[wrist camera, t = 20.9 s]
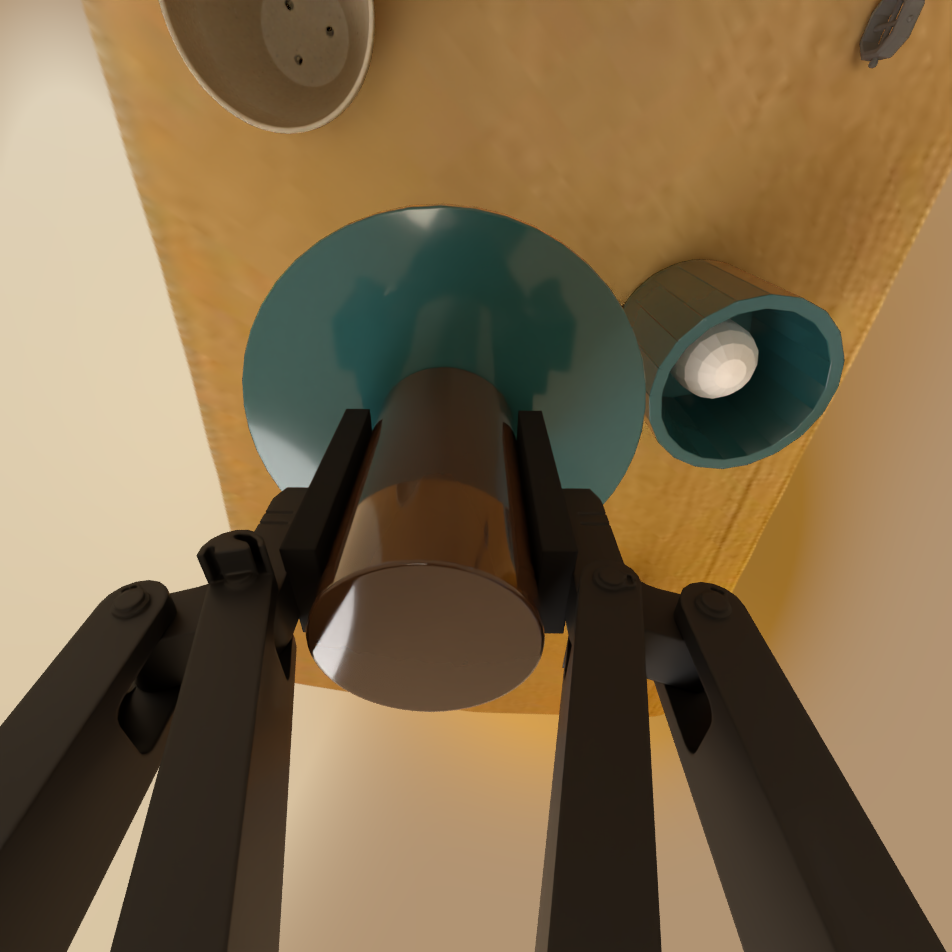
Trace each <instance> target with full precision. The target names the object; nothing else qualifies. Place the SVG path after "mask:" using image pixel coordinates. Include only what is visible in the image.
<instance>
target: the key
mask: <svg viewBox="0 0 952 952" xmlns="http://www.w3.org/2000/svg"><path fill="white" fill-rule="evenodd" d="M924 3H925V0H882V1H881V2H880V3H879V5H878V6H877V7H876V8H875V10H874V11H873V12H872V14H871V17H870V19H869V22H868V24H867V27H866V29H865V31H864V34H863V36H862V39H861V41H860V53H861V60H865V61H870V63H869V65H868V67H869V68H874V67H876V66H877V64H878V60H882V59H887V58H890V57H892V56H893V55H894V54H895V53H896V51H897V50H898V49H899V48H900V47H901V46H902V45H903V44H904V42H905V41H906V40H907V39H908V38H909V36H910V34H911V32H912V30H913V28H914V25H915V23H916V21H917V19H918V17H919V15H920V12H921V10H922V8H923V6H924ZM902 4H903V6H902ZM901 6H902V8H901ZM900 8H901V11H900ZM899 11H900V13H899ZM898 13H899V15H898ZM897 15H898V18H897V19H896V17H897ZM890 16H891V17H890ZM889 17H890V19H889ZM888 19H889V21H888ZM892 27H893V29H892ZM884 29H885V31H884ZM891 29H892V31H891ZM883 31H884V33H883ZM890 31H891V33H890ZM882 33H883V35H882ZM889 33H890V35H889ZM881 36H882V38H881ZM880 38H881V40H880ZM879 40H880V42H879ZM878 43H879V45H878Z"/></svg>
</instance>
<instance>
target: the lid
mask: <svg viewBox="0 0 952 952" xmlns="http://www.w3.org/2000/svg"><path fill="white" fill-rule="evenodd" d="M242 384H243V399H244V408H245V413H246V417H247V422H248V427H249V430H250V433H251V436H252V438H253V441H254V444H255V447H256V450H257V452H258V454H259V456H260V457H261V459H262V461H263V463H264V465H265V467H266V469H267V471H268V472H269V474H270V475H271V477H272V478H273V480H274V481H275V483H276V484H277V485H278V487H279V488H280V490H281V491H283V490H284V489H285V488H287V487H309V485H310V483H311V481H312V479H313V477H314V475H315V473H316V471H317V469H318V467H319V464H320V462H321V460H322V458H323V456H324V454H325V452H326V450H327V448H328V446H329V444H330V441H331V439H332V437H333V435H334V433H335V431H336V429H337V427H338V425H339V423H340V421H341V419H342V416H343V414H344V412H345V410H346V409H370V415H371V424H372V434H371V437H370V439H369V442H368V445H367V448H366V451H365V454H364V457H363V459H362V462H361V465H360V468H359V471H358V474H357V477H356V480H355V482H354V485H353V488H352V491H351V494H350V497H349V500H348V502H347V505H346V508H345V511H344V514H343V517H342V520H341V522H340V525H339V528H338V531H337V534H336V537H335V540H334V542H333V545H332V548H331V551H330V554H329V557H328V560H327V562H326V565H325V568H324V571H323V574H322V577H321V580H320V582H319V585H318V588H317V591H316V594H315V597H314V600H313V602H312V605H311V608H310V611H309V614H308V618H307V622H306V639H307V644H308V648H309V651H310V653H311V656H312V657H313V659H314V661H315V662H316V664H317V665H318V667H319V668H320V669H321V670H322V671H323V673H324V674H325V675H326V676H328V677H329V678H330V679H331V680H332V681H333V682H335V683H336V684H337V685H339V686H340V687H342V688H343V689H345V690H347V691H348V692H350V693H352V694H354V695H356V696H358V697H361V698H363V699H365V700H368V701H371V702H373V703H376V704H380V705H384V706H387V707H391V708H397V709H402V710H411V711H425V712H435V711H436V712H437V711H451V710H459V709H465V708H470V707H474V706H478V705H481V704H484V703H487V702H490V701H493V700H495V699H497V698H499V697H501V696H504V695H506V694H507V693H509V692H510V691H512V690H514V689H515V688H516V687H518V686H519V685H520V684H522V683H523V682H524V681H525V680H526V679H527V678H528V677H529V676H530V675H531V674H532V672H533V671H534V669H535V668H536V666H537V665H538V662H539V660H540V658H541V656H542V652H543V648H544V641H545V634H544V627H543V620H542V613H541V606H540V600H539V593H538V586H537V579H536V572H535V566H534V559H533V552H532V545H531V538H530V531H529V525H528V518H527V511H526V504H525V497H524V491H523V484H522V477H521V470H520V463H519V457H518V450H517V443H516V440H517V426H518V412H519V411H542V413H543V417H544V421H545V425H546V429H547V432H548V436H549V440H550V444H551V448H552V452H553V456H554V460H555V463H556V467H557V471H558V475H559V479H560V483H561V487H562V488H579V489H591V490H592V491H593V492H594V493H595V494H596V495H597V496H598V497H599V498H600V499H601V501H602V504H604V503H605V502H606V501H607V499H608V498H609V497H610V496H611V495H612V493H613V492H614V491H615V489H616V488H617V486H618V484H619V483H620V481H621V480H622V478H623V477H624V475H625V473H626V471H627V469H628V467H629V465H630V463H631V461H632V459H633V456H634V454H635V451H636V448H637V445H638V442H639V439H640V435H641V432H642V427H643V421H644V415H645V408H646V381H645V373H644V366H643V359H642V355H641V352H640V349H639V345H638V342H637V338H636V335H635V332H634V330H633V328H632V326H631V324H630V322H629V319H628V317H627V315H626V313H625V311H624V309H623V307H622V306H621V304H620V303H619V301H618V300H617V298H616V297H615V295H614V294H613V292H612V291H611V289H610V288H609V286H608V285H607V284H606V283H605V282H604V281H603V280H602V279H601V277H600V276H599V275H598V274H597V273H596V272H595V271H594V270H593V269H592V268H591V266H590V265H589V264H588V263H587V262H586V261H585V260H584V259H582V258H581V257H580V256H579V255H577V254H576V253H575V252H574V251H572V250H571V249H570V248H569V247H568V246H566V245H565V244H564V243H563V242H561V241H560V240H558V239H556V238H554V237H553V236H551V235H549V234H548V233H546V232H544V231H543V230H541V229H539V228H538V227H536V226H534V225H531V224H529V223H526V222H524V221H521V220H519V219H517V218H514V217H512V216H509V215H507V214H503V213H499V212H495V211H491V210H487V209H483V208H479V207H475V206H464V205H453V204H425V205H409V206H405V207H400V208H395V209H390V210H386V211H381V212H377V213H375V214H372V215H369V216H367V217H364V218H362V219H359V220H356V221H354V222H351V223H349V224H347V225H345V226H343V227H342V228H340V229H338V230H336V231H335V232H333V233H331V234H329V235H328V236H326V237H324V238H323V239H321V240H319V241H318V242H317V243H316V244H314V245H313V246H312V247H311V248H309V249H308V250H307V251H306V252H304V253H303V254H302V255H301V256H299V257H298V258H297V259H296V260H295V261H294V262H293V263H292V264H291V265H290V266H289V267H288V269H287V270H286V271H285V272H284V273H283V274H282V275H281V276H280V278H279V279H278V280H277V281H276V282H275V284H274V285H273V287H272V289H271V290H270V292H269V293H268V295H267V296H266V298H265V300H264V301H263V303H262V304H261V306H260V309H259V311H258V314H257V316H256V318H255V321H254V323H253V325H252V328H251V330H250V334H249V338H248V342H247V346H246V350H245V354H244V365H243V377H242Z"/></svg>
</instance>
